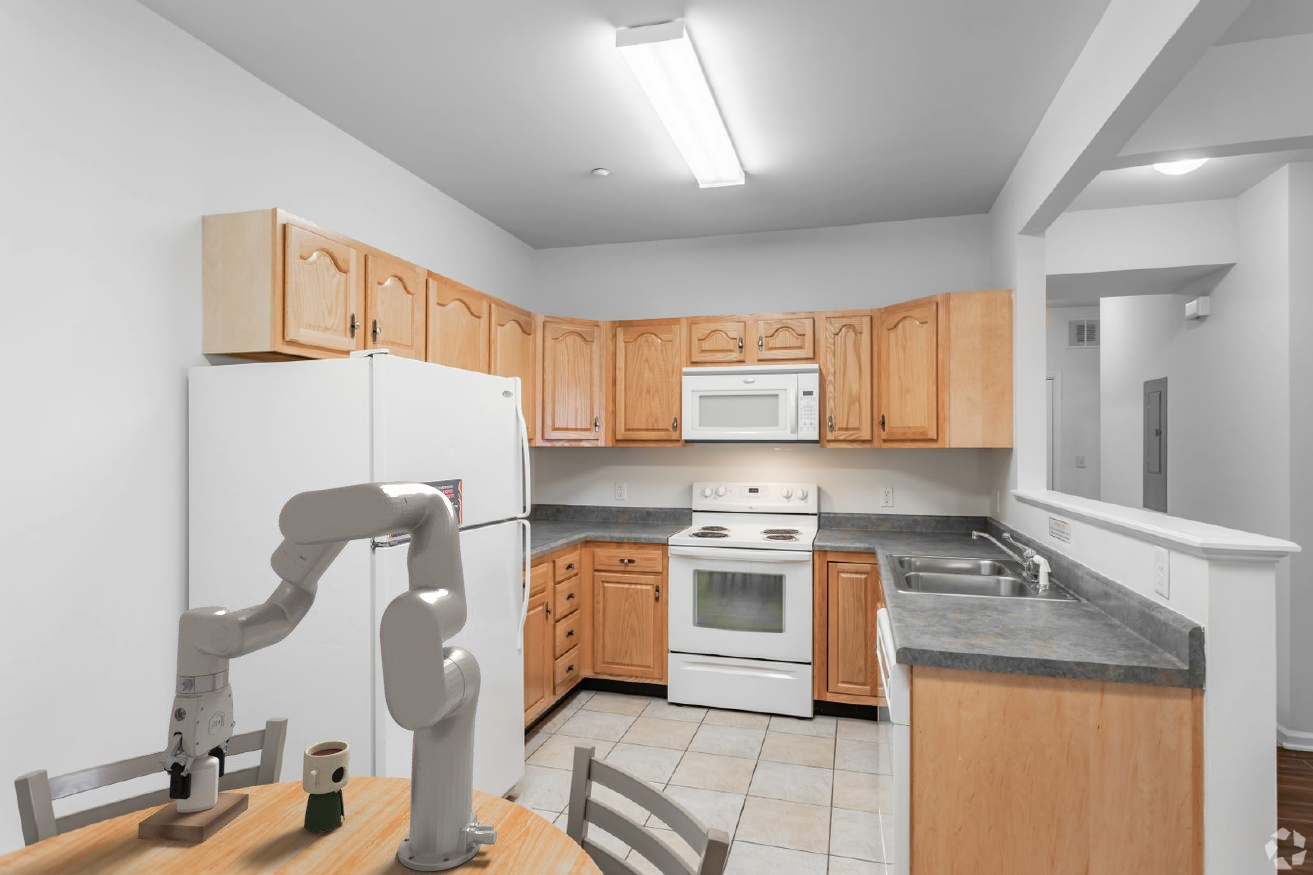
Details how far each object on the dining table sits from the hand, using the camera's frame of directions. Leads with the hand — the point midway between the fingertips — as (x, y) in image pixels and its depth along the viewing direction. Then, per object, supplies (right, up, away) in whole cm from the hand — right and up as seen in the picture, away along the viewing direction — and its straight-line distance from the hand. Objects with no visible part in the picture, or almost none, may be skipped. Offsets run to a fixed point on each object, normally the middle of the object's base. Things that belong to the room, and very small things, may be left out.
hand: (197, 786), depth 115 cm
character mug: (+22, -7, -1) cm, 23 cm away
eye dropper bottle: (0, -4, 0) cm, 4 cm away
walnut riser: (0, -6, 0) cm, 6 cm away
